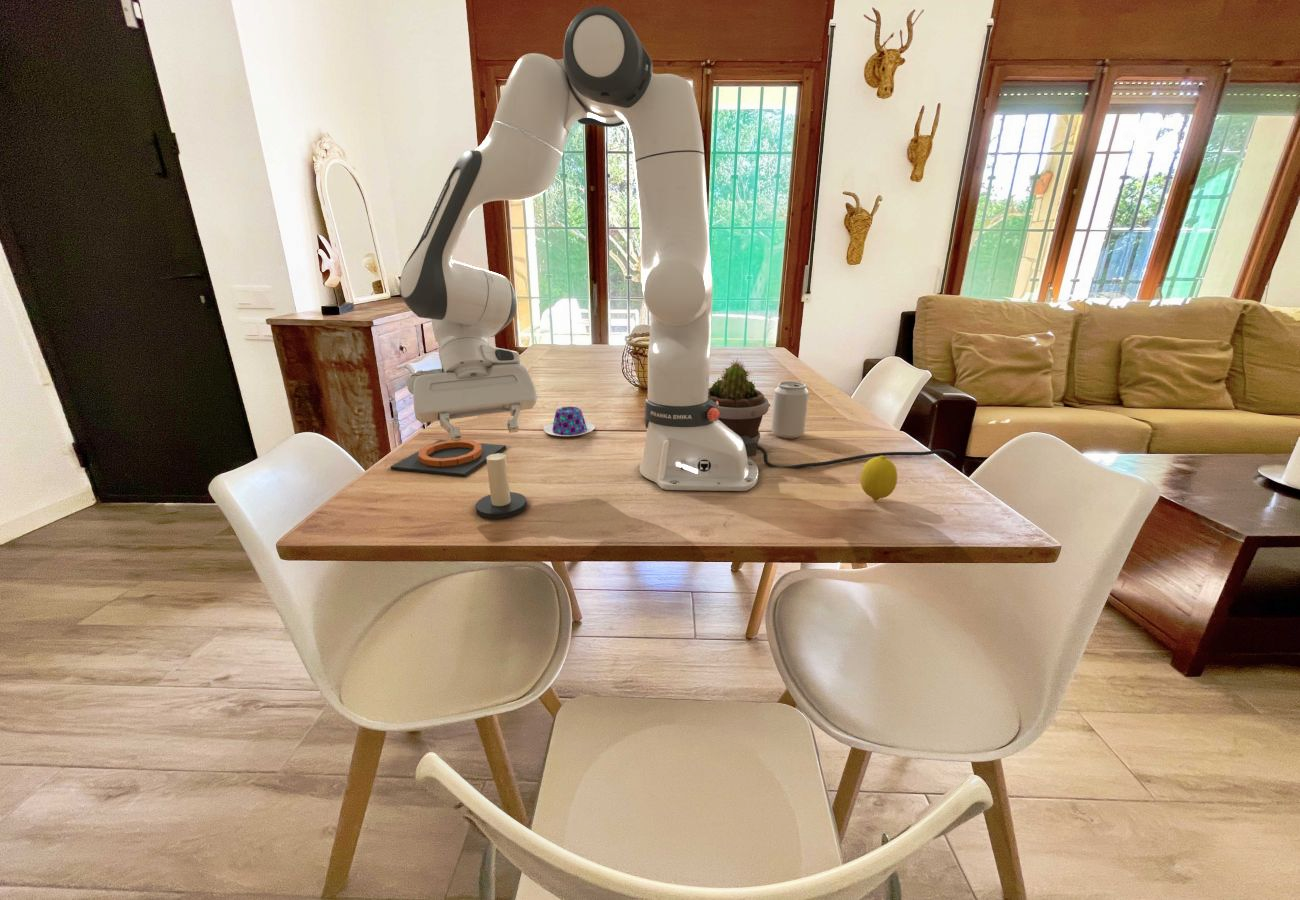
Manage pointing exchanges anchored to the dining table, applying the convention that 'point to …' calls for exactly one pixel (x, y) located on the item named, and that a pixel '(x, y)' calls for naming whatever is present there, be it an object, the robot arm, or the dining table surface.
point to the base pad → (449, 457)
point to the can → (789, 409)
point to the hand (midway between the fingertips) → (486, 435)
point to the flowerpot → (739, 402)
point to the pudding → (569, 423)
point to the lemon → (879, 477)
